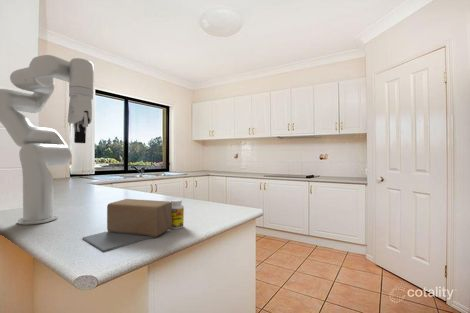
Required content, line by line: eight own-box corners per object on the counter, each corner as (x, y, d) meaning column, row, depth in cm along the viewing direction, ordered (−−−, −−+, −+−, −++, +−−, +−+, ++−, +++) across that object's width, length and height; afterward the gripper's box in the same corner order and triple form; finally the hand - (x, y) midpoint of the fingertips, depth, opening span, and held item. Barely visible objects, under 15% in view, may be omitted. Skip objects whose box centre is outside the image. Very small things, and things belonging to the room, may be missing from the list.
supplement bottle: (167, 230, 86) (168, 202, 86) (168, 225, 92) (168, 199, 91) (183, 229, 87) (183, 201, 87) (183, 224, 93) (183, 198, 93)
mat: (82, 238, 77) (82, 237, 77) (135, 225, 91) (135, 224, 91) (103, 251, 67) (103, 250, 67) (159, 235, 81) (159, 233, 81)
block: (105, 232, 82) (157, 237, 77) (105, 203, 82) (157, 207, 77) (125, 224, 91) (172, 228, 86) (125, 198, 91) (172, 201, 86)
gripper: (62, 93, 90) (61, 142, 90) (77, 89, 81) (76, 142, 81) (84, 97, 96) (83, 143, 96) (100, 93, 87) (99, 144, 87)
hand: (79, 142), depth 89 cm, fingers closed
